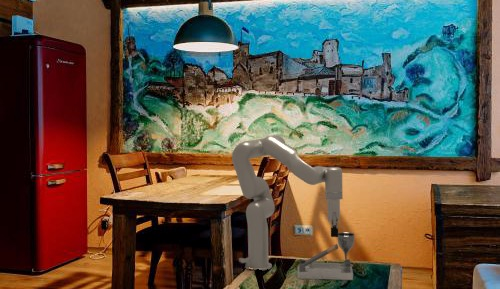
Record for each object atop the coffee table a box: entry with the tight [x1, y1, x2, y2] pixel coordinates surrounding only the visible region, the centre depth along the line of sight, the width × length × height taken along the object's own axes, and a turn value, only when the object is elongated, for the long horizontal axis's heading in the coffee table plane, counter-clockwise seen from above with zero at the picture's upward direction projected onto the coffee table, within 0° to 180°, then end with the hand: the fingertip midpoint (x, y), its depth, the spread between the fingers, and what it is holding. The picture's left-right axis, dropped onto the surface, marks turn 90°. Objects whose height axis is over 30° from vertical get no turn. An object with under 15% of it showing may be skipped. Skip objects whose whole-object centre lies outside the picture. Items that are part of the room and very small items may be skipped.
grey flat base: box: [297, 258, 354, 281], centre depth 244 cm, size 24×10×7 cm, turn 83°
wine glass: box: [336, 231, 355, 268], centre depth 260 cm, size 8×8×15 cm
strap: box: [302, 243, 339, 266], centre depth 244 cm, size 18×5×1 cm
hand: (334, 236), depth 243 cm, fingers closed
